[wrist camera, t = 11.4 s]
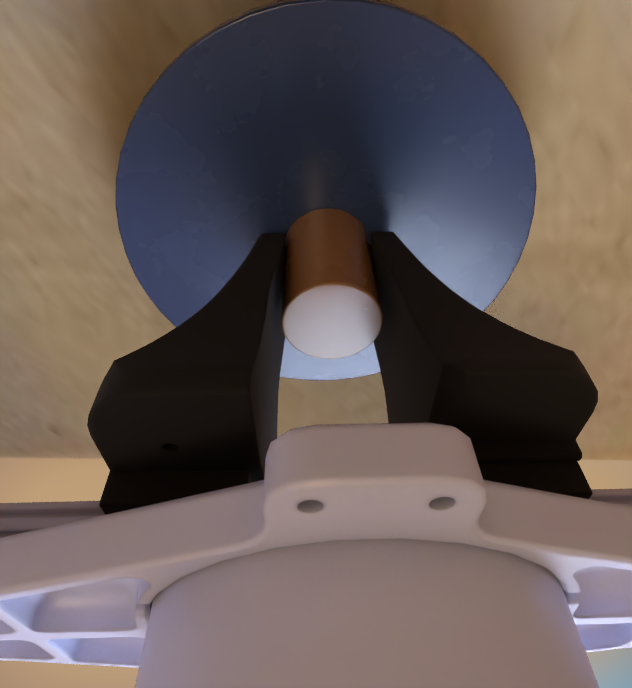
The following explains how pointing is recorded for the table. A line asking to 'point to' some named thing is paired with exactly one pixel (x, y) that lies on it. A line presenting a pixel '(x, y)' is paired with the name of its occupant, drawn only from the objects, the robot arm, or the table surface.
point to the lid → (325, 169)
